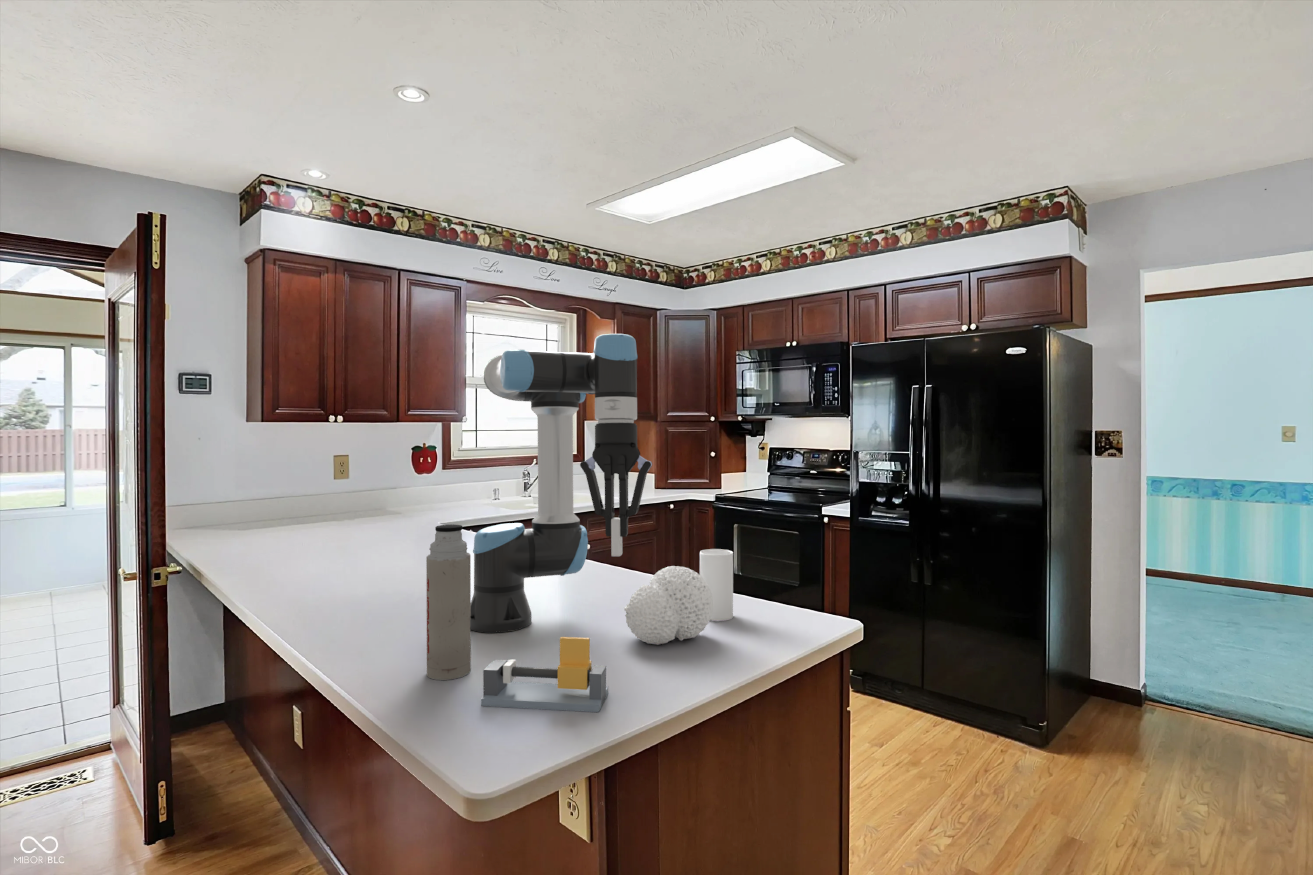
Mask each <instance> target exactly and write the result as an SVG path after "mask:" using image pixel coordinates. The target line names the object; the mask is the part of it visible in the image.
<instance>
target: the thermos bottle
mask: <svg viewBox="0 0 1313 875" xmlns="http://www.w3.org/2000/svg"><path fill="white" fill-rule="evenodd" d="M462 530H463V525H462V524H441V525H437V526H435V534H434V541H432V542H431V543H430V547H429V551H430V554H428V555H426V558H425V560H426V563H425V564H426V567H425V568H426V677H427V678H429V679H432V680H436V681H447V680H451V681H452V680H455V679H456V680H457V679H460V678H463V677H465V676H467V675H468V674H470V673H471V669H472V668H471V666H472V663H471V661H472V659H471V658H472V657H471V655H472V653H471V652H472V650H471V649H472V647H471V645H472V642H471V641H472V639H471V630H470V618H471V600H472V598H471V597H472V596H471V595H472V594H471V593H472V591H471V586H472V584H471V577H472V576H471V574H472V573H471V572H472V571H471V569H472V568H471V562H472V561H471V553H469V552H467V551H468V547H467V546H468V543H467V542H466V541H465V540H463V533H462Z"/></svg>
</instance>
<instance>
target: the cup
mask: <svg viewBox="0 0 1313 875" xmlns="http://www.w3.org/2000/svg"><path fill="white" fill-rule="evenodd" d="M699 575H700V576H701V577H702V578H703V579H704V580H705V581H706V583H707V585H708V586H709V589H710V590H711V594H712V597H713V611H712V617H711V619H710V621H711V622H712V621H713V622H723V621H724V622H725V621H729V620H732V619H733V618H734V552H733V551H732V550H729V549H721V548H710V549H702V550H700V551H699ZM710 621H709V622H710Z"/></svg>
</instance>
